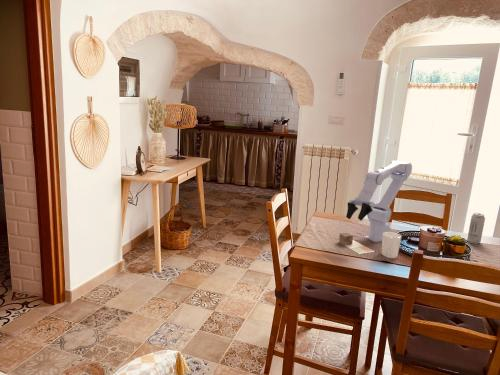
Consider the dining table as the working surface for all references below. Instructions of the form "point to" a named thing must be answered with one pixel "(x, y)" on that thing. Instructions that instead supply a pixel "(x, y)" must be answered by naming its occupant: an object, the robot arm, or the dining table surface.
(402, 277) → the dining table surface
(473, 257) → the dining table surface
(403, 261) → the dining table surface
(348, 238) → the block
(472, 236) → the energy drink can
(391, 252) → the white cup
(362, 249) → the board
